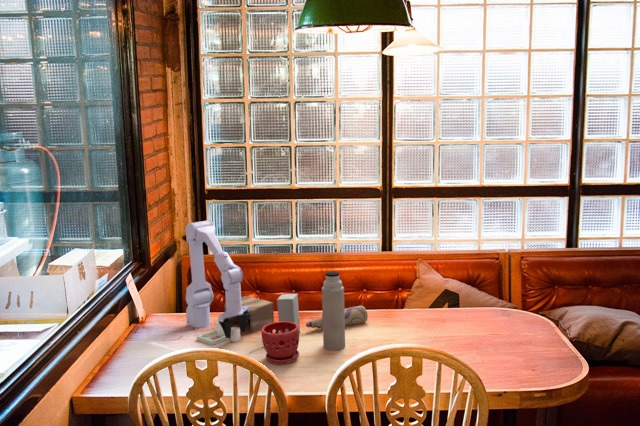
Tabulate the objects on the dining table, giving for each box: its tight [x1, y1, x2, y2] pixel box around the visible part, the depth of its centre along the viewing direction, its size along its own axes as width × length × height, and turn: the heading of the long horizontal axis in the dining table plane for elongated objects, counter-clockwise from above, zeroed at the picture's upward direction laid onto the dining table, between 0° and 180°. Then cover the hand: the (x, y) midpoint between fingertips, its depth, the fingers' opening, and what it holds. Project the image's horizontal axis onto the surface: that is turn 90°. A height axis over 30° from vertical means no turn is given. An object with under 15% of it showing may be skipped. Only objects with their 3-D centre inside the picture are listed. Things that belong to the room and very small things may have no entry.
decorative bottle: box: [305, 305, 369, 329], centre depth 260 cm, size 26×8×7 cm, turn 115°
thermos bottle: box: [321, 270, 346, 351], centre depth 238 cm, size 8×8×28 cm
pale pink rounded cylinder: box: [214, 320, 225, 338], centre depth 251 cm, size 4×4×6 cm
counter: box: [223, 295, 275, 334], centre depth 262 cm, size 15×12×10 cm
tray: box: [196, 328, 231, 346], centre depth 250 cm, size 9×13×3 cm
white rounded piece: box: [230, 326, 242, 343], centre depth 246 cm, size 4×4×6 cm
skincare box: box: [276, 293, 301, 334], centre depth 251 cm, size 8×7×16 cm
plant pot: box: [260, 321, 300, 365], centre depth 229 cm, size 13×13×12 cm
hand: (235, 334), depth 246 cm, fingers open, 7 cm apart
